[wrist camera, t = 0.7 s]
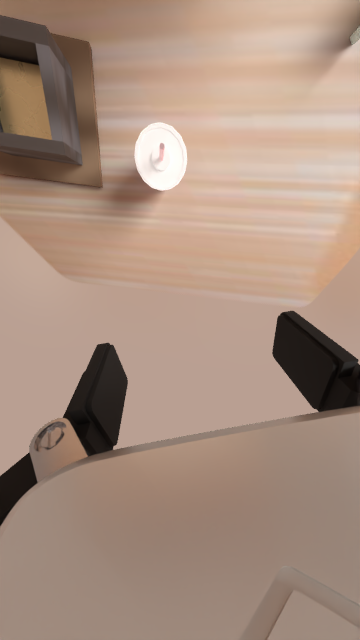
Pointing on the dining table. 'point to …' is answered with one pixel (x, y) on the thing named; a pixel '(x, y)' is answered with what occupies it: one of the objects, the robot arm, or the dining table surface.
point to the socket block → (54, 107)
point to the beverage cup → (160, 156)
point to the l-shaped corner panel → (355, 36)
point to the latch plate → (23, 100)
